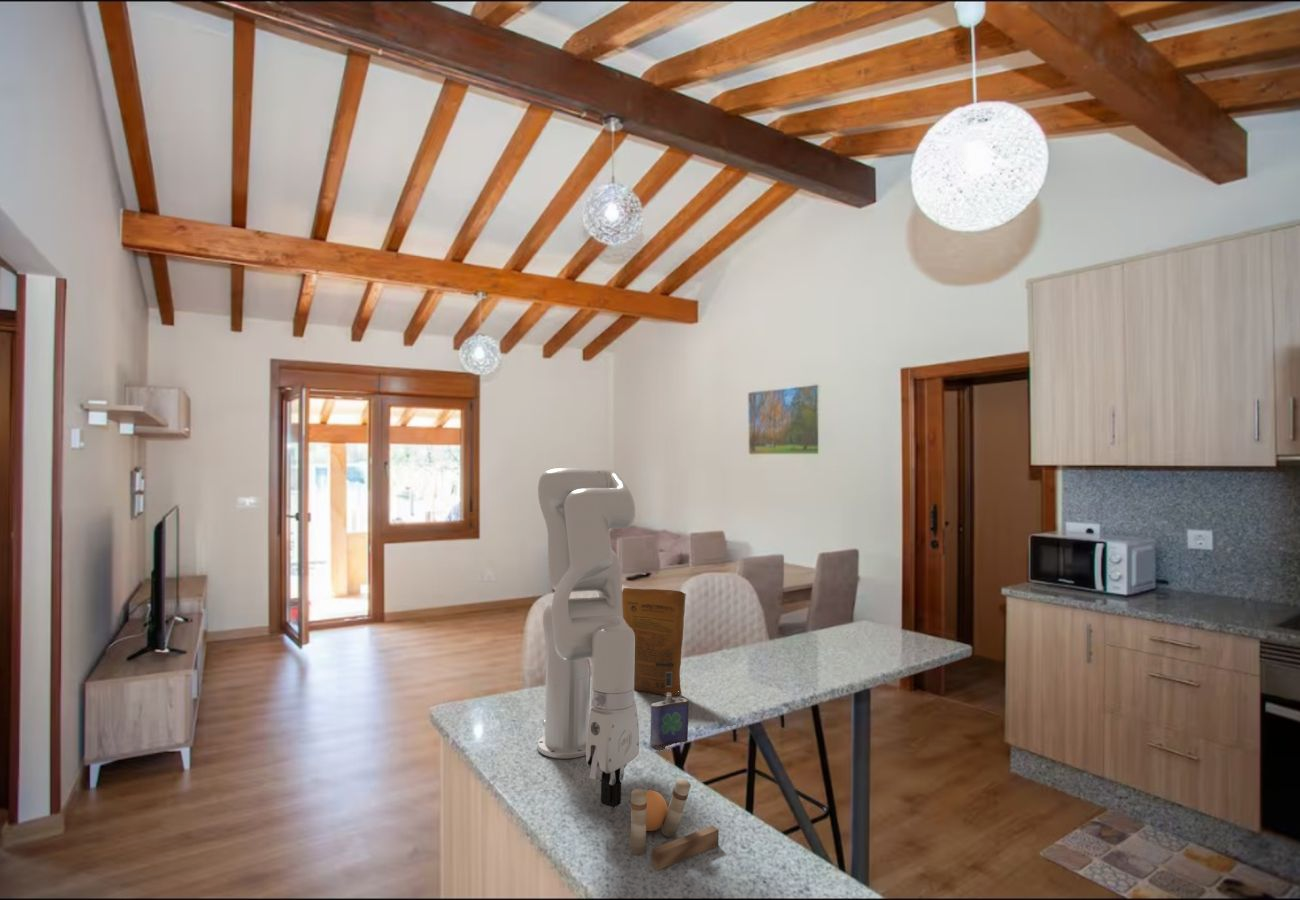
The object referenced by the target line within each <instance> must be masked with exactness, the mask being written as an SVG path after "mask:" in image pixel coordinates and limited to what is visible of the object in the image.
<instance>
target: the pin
mask: <svg viewBox="0 0 1300 900" xmlns="http://www.w3.org/2000/svg"><path fill="white" fill-rule="evenodd" d="M691 785H692V784H691V782H689V780H687V779H685V778H677V779H676V780H675V784H674V786H673V789H672V794H671V798H670V801H669V805H668V806H667V809H668V811H667V814H666V818H665V821H664V824H663V825H662V828H661V832H662V834H663V835H664V836H665V837H667V838H675V837H676V836H677V832H678V829H679V825H680V822H681V819H682V816H683V813H684V809H685V806H686V802H687V799H688V797H689V795H690V794H689V792H690V789H691Z"/></svg>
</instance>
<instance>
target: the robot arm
mask: <svg viewBox="0 0 1300 900" xmlns="http://www.w3.org/2000/svg"><path fill="white" fill-rule="evenodd" d="M537 494H538V497H537V498H538V503H539V506H540V510H541V513H542V515H543V519H544V522H545V525H546V529H547V560H548V561H547V562H548V565H547V566H548V578H549V583H550V586H551V588H552V589H553V590H554V593H553V598H552V601H551V602H550V603H548V605H547V606H546V607H545V609H544V611H543V614H542V624H543V625H542V626H543V632H544V633H543V634H544V640H545V654H546V656H545V658H546V661H545V663H546V665H545V666H546V667H545V669H546V670H545V671H546V672H545V706H544V707H545V708H544V709H545V710H544V712H545V713H544V714H545V715H544V717H545V718H544V720H543V721H542V723H541V725H542V726H543V727H544V735H543V736H542V737H540V738H539V739H538V741H537V743H536V745H537V746H536V748H537V750H538V752H539V753H540V754H542V755H544V756H546V757H549V758H554V759H562V760H563V759H564V760H565V759H574V758H575V759H576V758H581V757H584V756H585V759H586V766H587V767H588V768H590V770H589V771H590V772H589V779H591V780H593V781H599V782H600V803H601V804H602V805H603V806H606V807H609V808H611V809H612V808H613V809H615V808H617V807H619V806H621V804H622V781H623V779H624V775H625V768H626V765H627V764H629V763H630V762H631V761H633V760H635V759H636V758H637V757H638V755H639V753H640V730H639V729H640V727H639V715H638V708H637V703H636V701H635V690H634V665H635V634H634V631H633V629H632V628H630V627H629V625H628V624H627V623H626V621H625V620H624V619H623V599H622V592H623V581H622V580H623V579H622V568H621V563H620V559H619V557H618V555H617V553H616V552H615V550H613V547H612V542H611V534H610V530H611V529H612V530H614V529H615V530H616V529H618V530H619V529H627V528H630V527H631V526H632V525H633V524H634V522H635V521H634V520H635V518H636V507H635V505H636V504H635V501H634V498H633V495H632V493H631V490H630V489H629V487H628V486H627V484H626V483H625V482H624V480H622V478H621V477H620V476H619V474H618V473H617V472H616V471H614V470H612V469H606V468H579V467H562V468H561V467H560V468H552V469H549V470H546V471H544V472H543V473H541V476H540V477H539V479H538V486H537ZM582 592H583V593H584V592H597V593H598V597H578V598H577V597H576V598H575V597H574V598H570V596H571V593H582ZM590 659H591V662H590Z"/></svg>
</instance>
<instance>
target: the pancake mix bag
mask: <svg viewBox="0 0 1300 900" xmlns="http://www.w3.org/2000/svg"><path fill="white" fill-rule="evenodd" d="M686 596H687V594H686V593H684V592H683V591H682V590H681V591H680V590H671V589H660V588H659V589H658V588H655V589H653V588H645V589H643V588H630V587H623V588H622V599H623V619H624V620H625V621H626V623H627V624H628V625H629V627H630V628H632V629H633V631H634V634H635V665H634V691H637V692H644V693H647V694H648V693H649V694H655V695H661V696H665V697H667V694H666V693H669V692H670V693H672V694H671V696H672V697H674V696H676V697H677V696H679V695H682V690H681V689H682V688H681V676H680V673H681V664H682V650H683V649H682V648H683V642H684V641H683V640H684V627H685V626H684V625H685V623H684V622H685V612H686V609H685V608H686ZM678 691H679V692H678ZM665 694H666V695H665Z"/></svg>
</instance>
